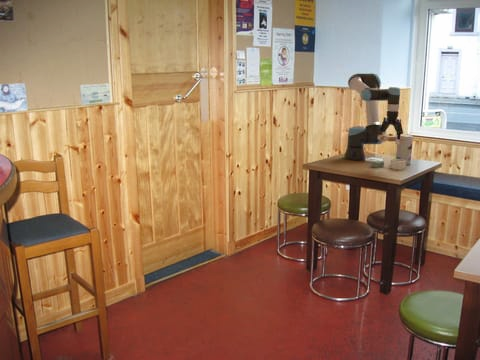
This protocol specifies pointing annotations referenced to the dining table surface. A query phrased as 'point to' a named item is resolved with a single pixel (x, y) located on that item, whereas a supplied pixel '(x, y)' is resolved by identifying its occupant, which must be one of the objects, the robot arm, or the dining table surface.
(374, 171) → the dining table surface
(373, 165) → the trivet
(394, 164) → the bowl
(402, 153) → the container
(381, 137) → the lid
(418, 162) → the dining table surface
